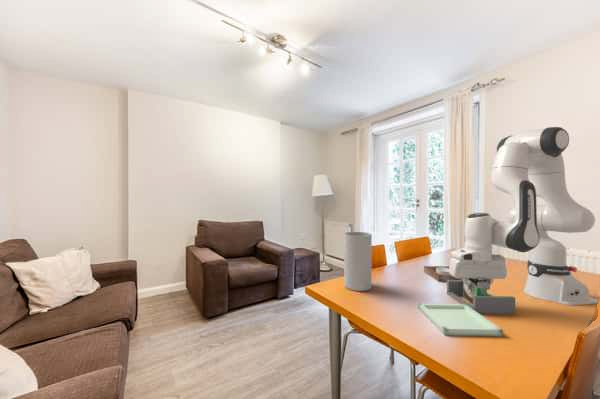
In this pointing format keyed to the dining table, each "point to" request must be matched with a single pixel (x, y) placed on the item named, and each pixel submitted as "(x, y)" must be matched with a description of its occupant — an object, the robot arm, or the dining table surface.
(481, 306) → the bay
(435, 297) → the dining table surface
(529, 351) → the dining table surface
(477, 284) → the food container
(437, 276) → the shallow brown square box
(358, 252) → the cylinder vase
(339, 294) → the dining table surface
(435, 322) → the tray
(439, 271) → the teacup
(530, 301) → the dining table surface
